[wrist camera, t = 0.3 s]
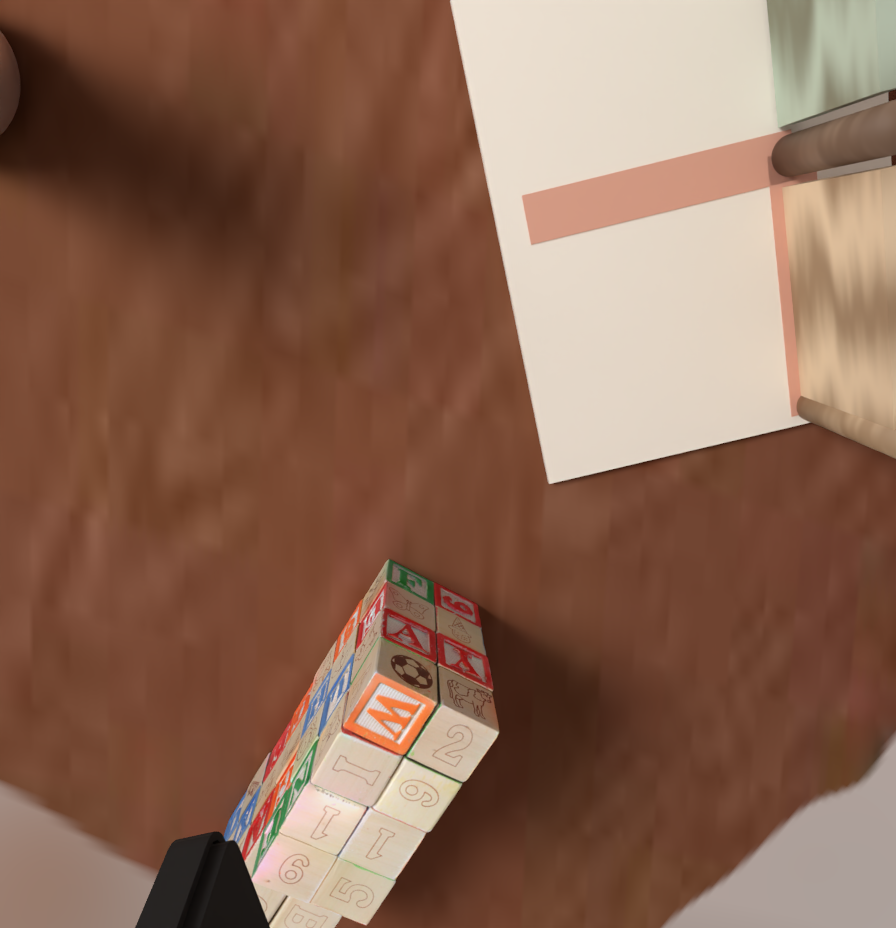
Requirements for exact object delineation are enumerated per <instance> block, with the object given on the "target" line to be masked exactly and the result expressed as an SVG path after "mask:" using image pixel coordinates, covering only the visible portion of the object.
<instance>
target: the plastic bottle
mask: <svg viewBox="0 0 896 928" xmlns="http://www.w3.org/2000/svg"><path fill="white" fill-rule="evenodd" d="M20 92H21V91H20V74H19V69H18V64H17V61H16V58H15V56H14V53H13V50H12V48H11V46H10V45H9V43H8V41H7V40H6V38H5V36H4V35H3V34H2V32H1V31H0V135H1V134H2V133H3V132H4V131H5V130H6V129H7V127H8V126H9V124H10V123H11V121H12V120H13V118H14V115H15V113H16V110H17V108H18V104H19V98H20Z"/></svg>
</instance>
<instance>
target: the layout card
mask: <svg viewBox="0 0 896 928" xmlns="http://www.w3.org/2000/svg"><path fill="white" fill-rule="evenodd" d="M450 3H451V8H452V13H453V18H454V23H455V28H456V33H457V38H458V43H459V48H460V52H461V57H462V62H463V67H464V72H465V77H466V82H467V87H468V92H469V97H470V101H471V106H472V111H473V116H474V121H475V126H476V131H477V136H478V141H479V146H480V151H481V155H482V160H483V165H484V170H485V175H486V180H487V185H488V190H489V195H490V200H491V205H492V209H493V214H494V219H495V224H496V229H497V234H498V239H499V244H500V249H501V254H502V259H503V263H504V268H505V273H506V278H507V283H508V288H509V293H510V298H511V303H512V308H513V312H514V317H515V322H516V327H517V332H518V337H519V342H520V347H521V352H522V357H523V362H524V366H525V371H526V376H527V381H528V386H529V391H530V396H531V401H532V406H533V411H534V416H535V420H536V425H537V430H538V435H539V440H540V445H541V450H542V455H543V460H544V465H545V470H546V474H547V479H548V482H549V484H551V483H556V482H560V481H564V480H568V479H573V478H577V477H581V476H585V475H590V474H594V473H598V472H602V471H607V470H611V469H615V468H619V467H624V466H628V465H632V464H636V463H641V462H645V461H649V460H653V459H658V458H662V457H666V456H670V455H675V454H679V453H683V452H687V451H692V450H696V449H700V448H705V447H709V446H713V445H717V444H722V443H726V442H730V441H734V440H739V439H743V438H747V437H751V436H756V435H760V434H764V433H768V432H773V431H777V430H781V429H785V428H790V427H794V426H798V425H802V424H807V423H811V422H809V421H806V420H804V419H802V418H801V417H800V416H799V414H798V412H797V402H798V399H799V398H800V396H801V391H800V380H799V369H798V358H797V347H796V336H795V325H794V314H793V303H792V292H791V281H790V270H789V258H788V247H787V236H786V225H785V214H784V203H783V192H782V187H786V186H790V185H795V184H799V183H803V182H807V181H813V180H818V179H823V178H829V177H834V176H839V175H844V174H850V173H855V172H860V171H866V170H871V169H876V168H882V167H887V166H892V163H891V156H888V157H884V158H879V159H874V160H869V161H864V162H860V163H855V164H850V165H845V166H840V167H836V168H831V169H826V170H821V171H816V172H812V173H807V174H802V175H797V176H792V177H785V176H782V175H780V174H779V173H777V172H776V170H775V169H774V167H773V165H772V160H771V156H772V151H773V148H774V146H775V144H776V143H777V142H778V141H779V140H780V139H781V138H782V137H784V136H785V135H788V134H791V133H794V132H797V131H800V130H803V129H806V128H809V127H812V126H815V125H819V124H822V123H825V122H828V121H831V120H834V119H837V118H840V117H843V116H846V115H849V114H852V113H855V112H859V111H862V110H865V109H868V108H871V107H874V106H877V105H880V104H883V103H886V102H889V100H888V92H887V93H884V94H881V95H878V96H876V97H873V98H870V99H867V100H864V101H861V102H858V103H855V104H852V105H849V106H847V107H844V108H841V109H838V110H835V111H832V112H829V113H826V114H823V115H821V116H818V117H815V118H812V119H809V120H806V121H803V122H799V123H795V124H791V125H787V126H783V127H779V128H778V121H777V110H776V99H775V88H774V77H773V66H772V54H771V43H770V32H769V21H768V10H767V0H450Z"/></svg>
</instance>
